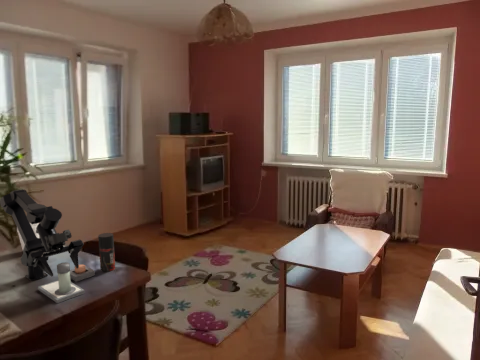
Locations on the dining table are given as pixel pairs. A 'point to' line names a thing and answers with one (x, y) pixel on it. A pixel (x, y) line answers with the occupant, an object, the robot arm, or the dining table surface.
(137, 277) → the dining table surface
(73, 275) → the button housing
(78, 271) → the button
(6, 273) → the dining table surface
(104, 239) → the deodorant
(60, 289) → the knob
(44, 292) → the board
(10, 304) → the dining table surface
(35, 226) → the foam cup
